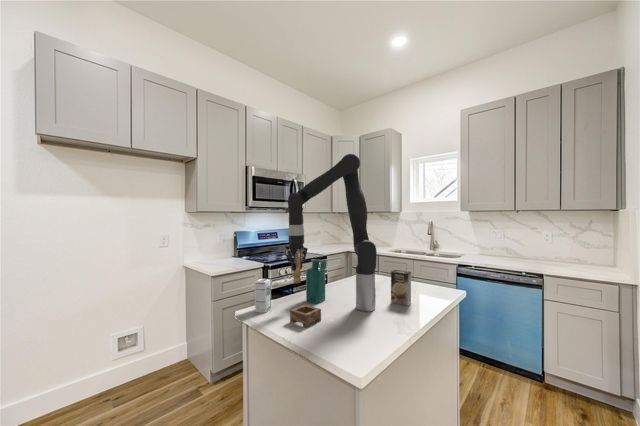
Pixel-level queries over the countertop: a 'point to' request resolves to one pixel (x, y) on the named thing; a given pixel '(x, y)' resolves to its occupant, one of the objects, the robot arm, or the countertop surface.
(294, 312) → the brown wooden square frame
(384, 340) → the countertop surface
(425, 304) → the countertop surface
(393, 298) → the coffee box
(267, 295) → the syrup box
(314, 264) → the teal bottle
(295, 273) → the rod
